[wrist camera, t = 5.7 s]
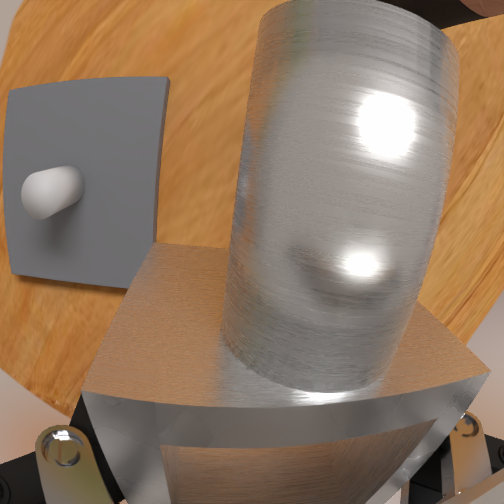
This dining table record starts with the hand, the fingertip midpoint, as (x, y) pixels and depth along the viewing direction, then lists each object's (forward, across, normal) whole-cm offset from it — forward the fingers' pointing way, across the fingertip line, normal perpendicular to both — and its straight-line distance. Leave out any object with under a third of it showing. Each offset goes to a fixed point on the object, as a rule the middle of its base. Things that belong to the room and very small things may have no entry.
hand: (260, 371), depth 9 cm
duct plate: (+16, +13, -3) cm, 20 cm away
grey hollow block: (+1, 0, -3) cm, 3 cm away
